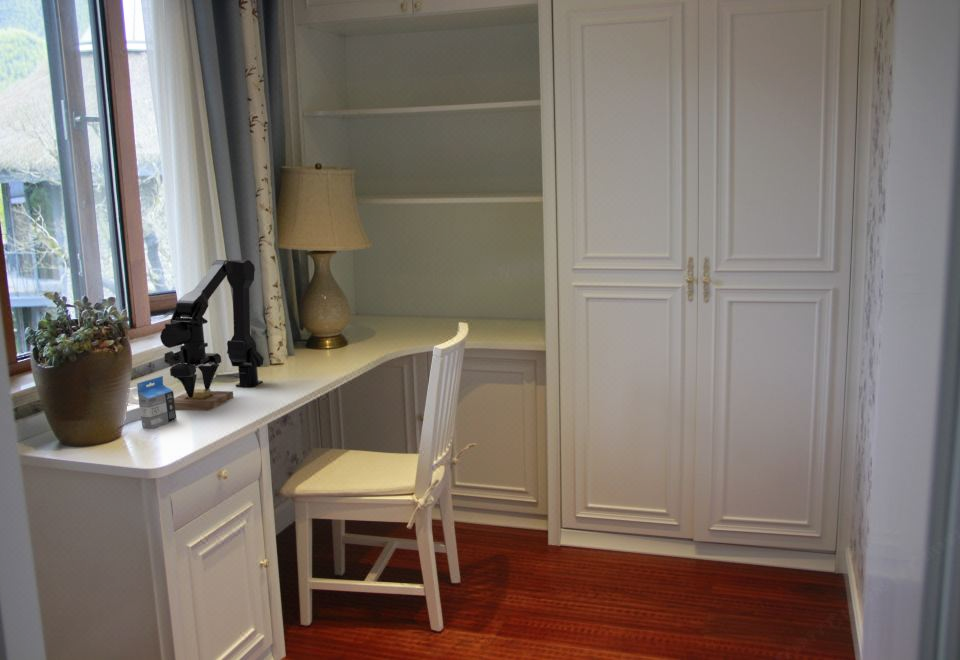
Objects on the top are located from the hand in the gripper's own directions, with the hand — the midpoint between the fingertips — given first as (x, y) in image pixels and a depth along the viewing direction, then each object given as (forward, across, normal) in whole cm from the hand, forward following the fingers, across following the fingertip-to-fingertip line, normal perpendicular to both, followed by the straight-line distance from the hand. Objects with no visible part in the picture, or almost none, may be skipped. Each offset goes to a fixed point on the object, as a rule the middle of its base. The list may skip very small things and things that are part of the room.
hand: (199, 393), depth 253 cm
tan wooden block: (+3, 0, 0) cm, 3 cm away
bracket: (+4, +17, -12) cm, 22 cm away
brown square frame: (+3, 0, 0) cm, 3 cm away
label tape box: (+3, +21, 0) cm, 21 cm away
